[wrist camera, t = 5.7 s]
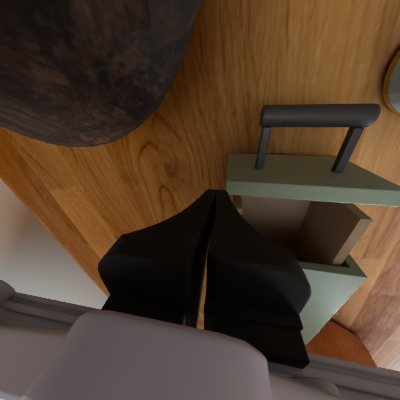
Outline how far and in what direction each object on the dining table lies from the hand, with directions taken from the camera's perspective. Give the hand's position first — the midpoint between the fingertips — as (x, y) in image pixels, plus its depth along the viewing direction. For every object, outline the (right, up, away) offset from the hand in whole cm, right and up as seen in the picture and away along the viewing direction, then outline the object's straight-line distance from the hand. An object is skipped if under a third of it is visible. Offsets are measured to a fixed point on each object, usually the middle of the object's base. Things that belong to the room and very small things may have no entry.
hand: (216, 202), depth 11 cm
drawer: (+8, +1, +9) cm, 12 cm away
